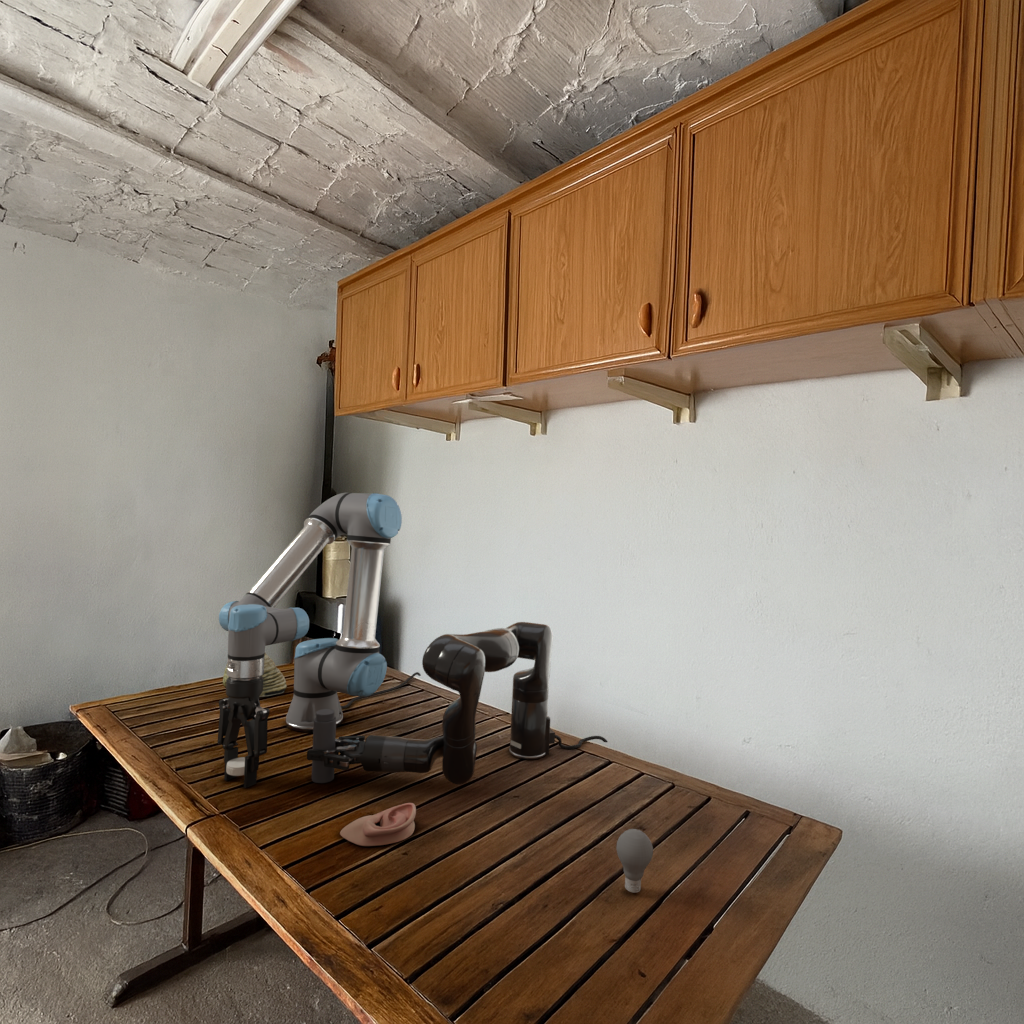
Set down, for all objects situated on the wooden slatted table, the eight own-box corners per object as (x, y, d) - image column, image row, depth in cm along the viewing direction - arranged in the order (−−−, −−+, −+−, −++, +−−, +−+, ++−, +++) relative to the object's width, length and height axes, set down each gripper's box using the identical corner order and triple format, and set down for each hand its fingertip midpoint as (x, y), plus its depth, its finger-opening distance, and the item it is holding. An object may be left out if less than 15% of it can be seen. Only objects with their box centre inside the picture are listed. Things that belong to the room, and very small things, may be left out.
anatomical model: (332, 820, 116) (360, 792, 128) (332, 841, 116) (359, 811, 128) (400, 830, 114) (422, 801, 125) (400, 852, 114) (421, 821, 125)
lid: (224, 777, 135) (224, 768, 135) (228, 766, 141) (228, 757, 141) (252, 775, 137) (253, 766, 137) (255, 764, 142) (256, 756, 142)
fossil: (218, 695, 195) (220, 647, 195) (278, 685, 208) (279, 640, 207) (228, 703, 189) (230, 653, 188) (289, 692, 201) (290, 645, 201)
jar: (318, 772, 145) (320, 707, 145) (338, 775, 144) (340, 709, 144) (307, 781, 141) (309, 714, 140) (327, 784, 140) (330, 716, 139)
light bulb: (610, 879, 108) (613, 822, 108) (644, 879, 109) (647, 822, 109) (619, 902, 102) (622, 840, 102) (655, 901, 103) (658, 840, 103)
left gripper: (202, 672, 140) (197, 777, 140) (260, 688, 131) (255, 799, 131) (231, 666, 146) (226, 765, 146) (289, 680, 137) (283, 786, 138)
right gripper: (394, 726, 149) (323, 721, 149) (379, 749, 134) (300, 745, 135) (393, 757, 149) (322, 753, 150) (378, 784, 135) (299, 780, 135)
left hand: (240, 781), depth 139 cm, fingers closed on lid, 6 cm apart
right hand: (312, 749), depth 142 cm, fingers closed on jar, 5 cm apart
